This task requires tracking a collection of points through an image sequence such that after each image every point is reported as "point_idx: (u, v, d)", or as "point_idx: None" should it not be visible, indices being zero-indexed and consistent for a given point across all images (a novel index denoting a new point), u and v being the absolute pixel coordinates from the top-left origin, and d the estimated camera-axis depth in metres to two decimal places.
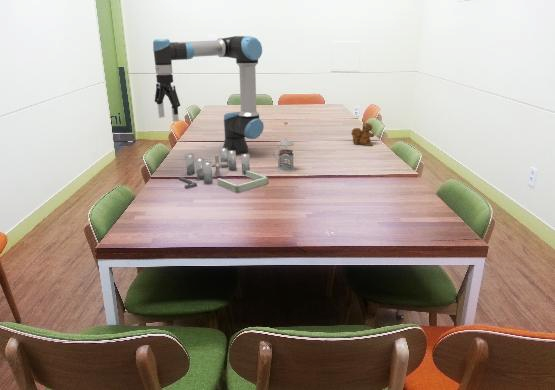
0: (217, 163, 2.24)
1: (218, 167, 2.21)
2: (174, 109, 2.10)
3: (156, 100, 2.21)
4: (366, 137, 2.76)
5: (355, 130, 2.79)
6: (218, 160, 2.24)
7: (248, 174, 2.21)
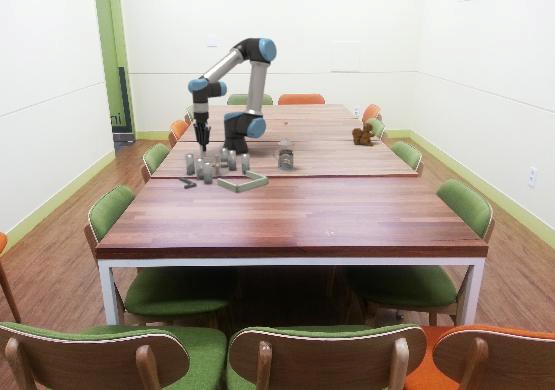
0: (217, 163, 2.24)
1: (218, 167, 2.21)
2: (203, 146, 2.29)
3: (198, 140, 2.31)
4: (366, 137, 2.76)
5: (355, 130, 2.79)
6: (218, 160, 2.24)
7: (248, 174, 2.21)
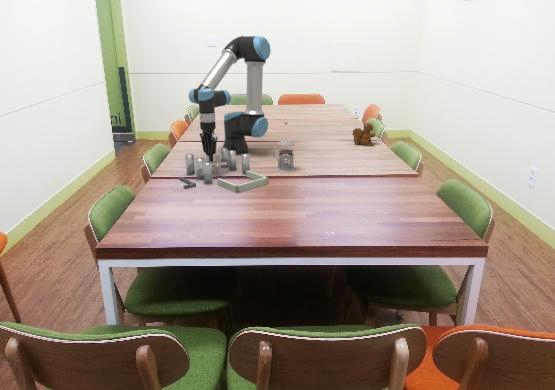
0: (217, 163, 2.24)
1: (218, 167, 2.21)
2: (210, 156, 2.27)
3: None
4: (367, 137, 2.76)
5: (356, 130, 2.79)
6: (218, 160, 2.24)
7: (248, 174, 2.21)
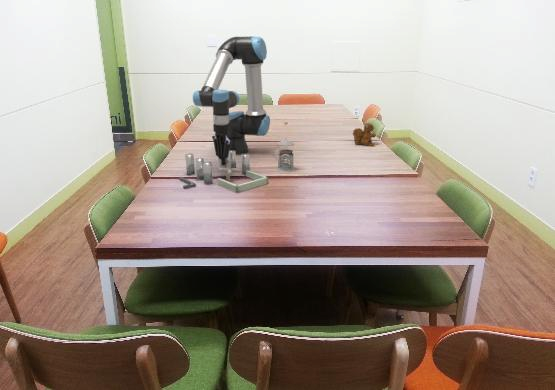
0: (229, 169, 2.15)
1: (230, 174, 2.12)
2: (222, 160, 2.18)
3: (217, 153, 2.19)
4: (367, 137, 2.76)
5: (356, 130, 2.78)
6: (230, 166, 2.15)
7: (248, 174, 2.21)
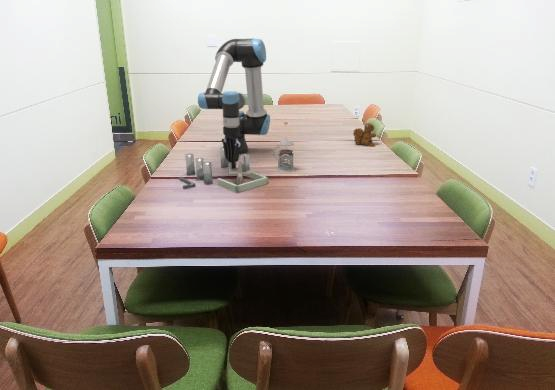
0: (239, 172, 2.10)
1: (240, 178, 2.07)
2: (232, 164, 2.12)
3: None
4: (368, 137, 2.75)
5: (357, 130, 2.78)
6: (241, 169, 2.10)
7: None
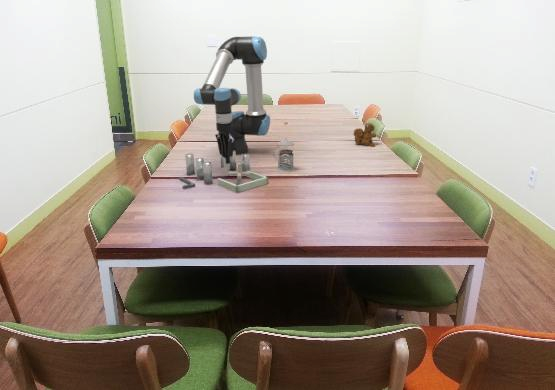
0: (239, 172, 2.10)
1: (239, 177, 2.07)
2: (226, 159, 2.17)
3: None
4: (368, 137, 2.75)
5: (357, 130, 2.78)
6: (240, 169, 2.10)
7: None
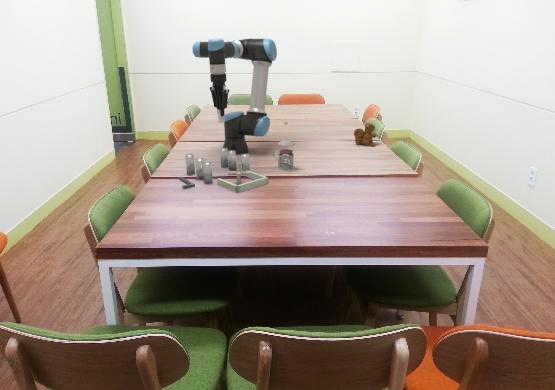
0: (238, 171, 2.10)
1: (238, 175, 2.07)
2: (221, 111, 2.19)
3: (215, 104, 2.21)
4: (368, 137, 2.75)
5: (357, 130, 2.78)
6: (240, 168, 2.11)
7: None
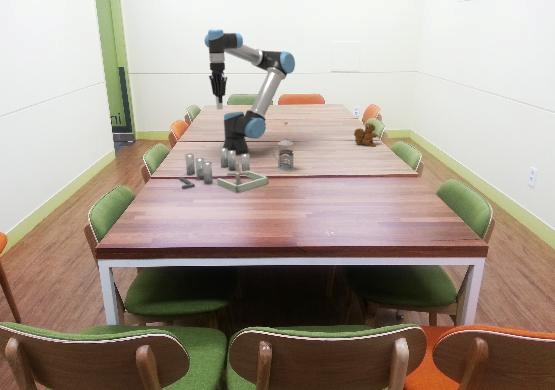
0: (237, 171, 2.10)
1: (236, 176, 2.07)
2: (219, 98, 2.31)
3: (214, 92, 2.33)
4: (369, 138, 2.75)
5: (358, 131, 2.78)
6: (238, 168, 2.10)
7: None
